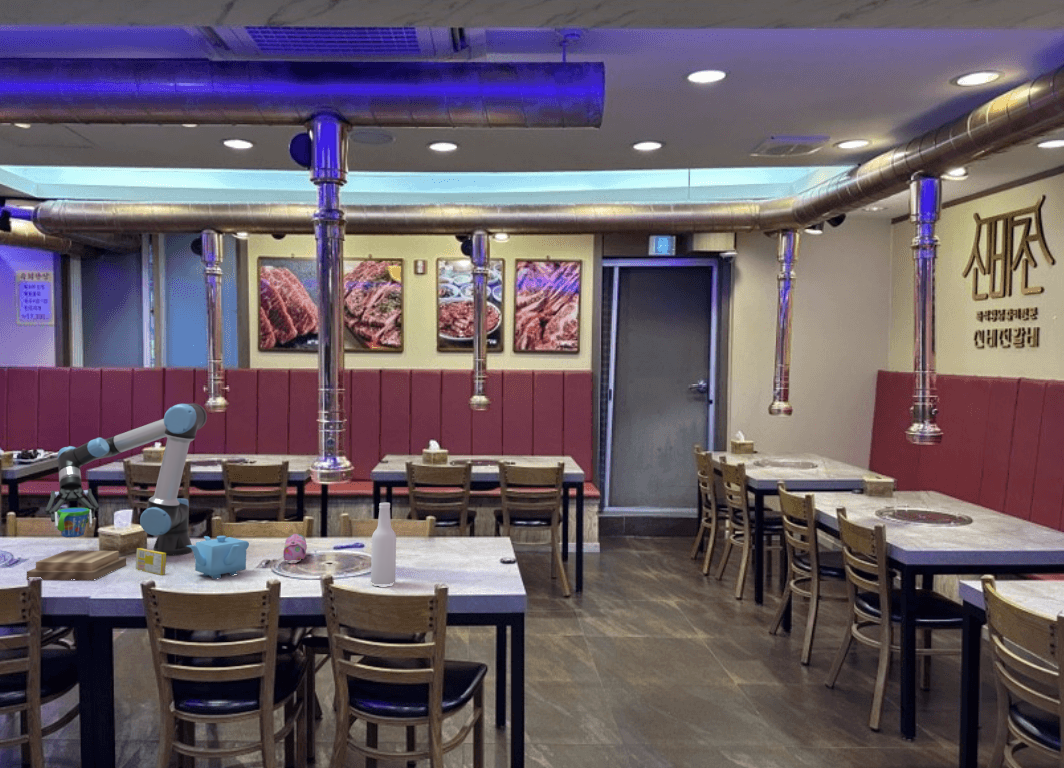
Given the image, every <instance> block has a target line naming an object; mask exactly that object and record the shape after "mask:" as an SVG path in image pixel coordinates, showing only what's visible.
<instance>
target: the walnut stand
mask: <svg viewBox="0 0 1064 768" xmlns="http://www.w3.org/2000/svg"><path fill="white" fill-rule="evenodd" d="M119 555H120V551H119V550H80V549H79V550H75V549H73V550H70V549H68V550H64V551H61V552H59V553H57V554H54V555H51V556H48V557H46V558H44V559H41V560H40V559H39V560H38V561H36V562H35V568H33V569H30V570H27V571H26V580H27V579H28V578H29V577H41V578H42V579H43V580H42V581H89V580H94V579H96V580H98V579H100V578H102V577H104V576H106V575H105V574H107V573H109V572H111V571H113V572H114V570H115V571H117V570H119V569H121V568H124V567H125V566H127V557H122V556H121V557H120V556H119ZM120 567H121V568H120ZM118 568H119V569H118ZM116 569H117V570H116ZM111 573H112V572H111ZM109 574H110V573H109ZM103 575H104V576H103ZM107 575H108V574H107ZM101 576H102V577H101ZM99 577H100V578H99ZM97 578H98V579H97ZM71 579H72V580H71ZM73 579H75V580H73ZM94 581H95V580H94Z"/></svg>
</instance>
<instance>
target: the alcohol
mask: <svg viewBox="0 0 1064 768" xmlns="http://www.w3.org/2000/svg"><path fill="white" fill-rule="evenodd" d="M390 508H391V503H390V502H385V501H384V502H380V503H379V506H378V509H379V510H378V511H379V512H378V519H377V528H376V529H375V530H374V531H373V533H372V536H371V557H370V559H371V562H370V566H371V567H370V568H371V569H370V583H371V582H372V583H374V584H390V583H393V582H395V583H396V567H397V566H396V565H397V564H396V563H397V562H396V561H397V559H396V558H397V535H396V532H395V531H394V530H393V528H392V524H391V509H390Z"/></svg>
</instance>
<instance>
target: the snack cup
mask: <svg viewBox="0 0 1064 768" xmlns="http://www.w3.org/2000/svg"><path fill="white" fill-rule="evenodd" d="M89 512H90V510H89V509H88V508H85V507H67V508H59V510H58V511H57V517H58V526H57V528H58V529H57V531H59V532H60V535H61V537H64V538H78V537H82V536H84V535H85V531H86V526H87V524H89V519H88V514H89Z"/></svg>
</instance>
